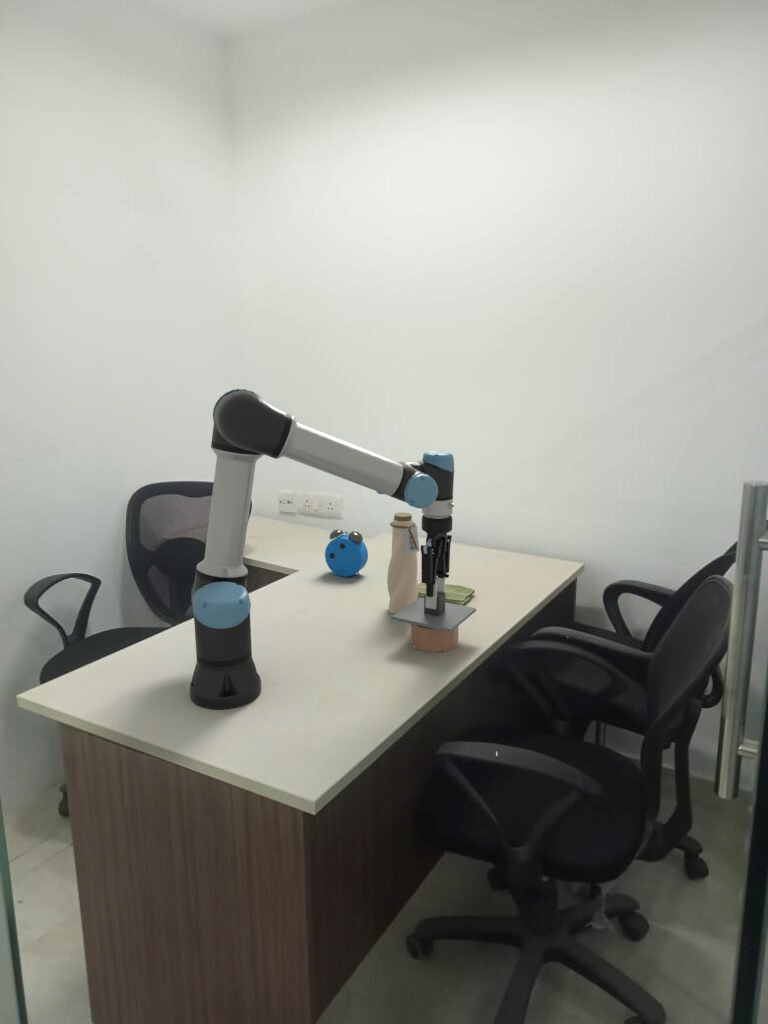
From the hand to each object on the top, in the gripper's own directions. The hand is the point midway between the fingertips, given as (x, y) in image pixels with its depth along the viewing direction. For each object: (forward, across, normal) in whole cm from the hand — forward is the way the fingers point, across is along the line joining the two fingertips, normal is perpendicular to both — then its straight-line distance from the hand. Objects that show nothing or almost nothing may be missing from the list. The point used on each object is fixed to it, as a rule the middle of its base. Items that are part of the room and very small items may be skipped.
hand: (434, 604), depth 182 cm
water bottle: (+10, +16, +17) cm, 26 cm away
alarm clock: (+10, +35, +48) cm, 60 cm away
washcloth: (+11, +32, +12) cm, 36 cm away
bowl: (+10, 0, 0) cm, 10 cm away
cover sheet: (+3, 0, 0) cm, 3 cm away
